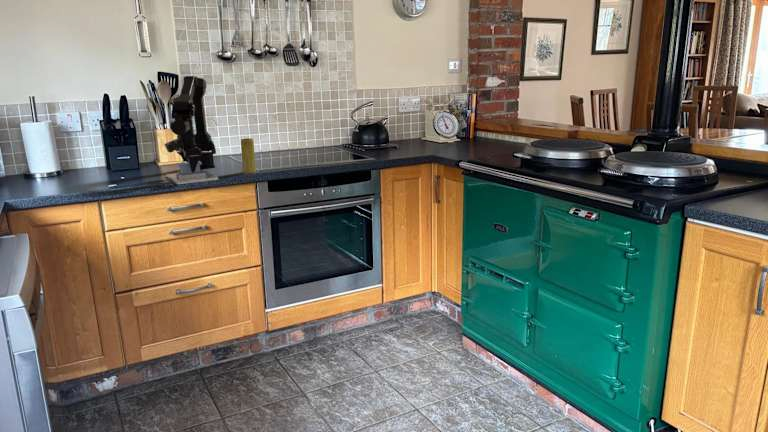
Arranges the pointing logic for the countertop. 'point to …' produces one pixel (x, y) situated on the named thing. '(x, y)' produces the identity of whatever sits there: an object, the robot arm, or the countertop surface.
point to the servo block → (188, 168)
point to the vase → (248, 156)
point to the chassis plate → (192, 177)
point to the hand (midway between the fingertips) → (190, 170)
